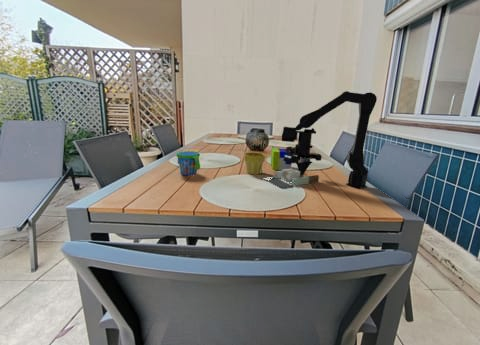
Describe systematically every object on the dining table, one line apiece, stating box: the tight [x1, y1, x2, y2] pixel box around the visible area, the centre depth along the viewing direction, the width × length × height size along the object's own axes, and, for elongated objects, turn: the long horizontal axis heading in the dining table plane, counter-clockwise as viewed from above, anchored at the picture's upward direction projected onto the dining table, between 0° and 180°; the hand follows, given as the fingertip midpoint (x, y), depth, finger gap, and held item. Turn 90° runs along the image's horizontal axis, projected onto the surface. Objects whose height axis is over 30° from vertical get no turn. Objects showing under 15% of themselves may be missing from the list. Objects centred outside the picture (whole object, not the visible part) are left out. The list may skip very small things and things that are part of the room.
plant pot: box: [243, 151, 266, 175], centre depth 124 cm, size 10×10×10 cm
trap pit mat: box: [266, 176, 294, 189], centre depth 111 cm, size 16×6×1 cm, turn 28°
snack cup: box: [176, 150, 201, 176], centre depth 118 cm, size 16×10×10 cm
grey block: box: [280, 168, 301, 184], centre depth 114 cm, size 6×6×5 cm
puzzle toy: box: [270, 147, 292, 171], centre depth 137 cm, size 10×10×10 cm
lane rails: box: [274, 168, 320, 186], centre depth 116 cm, size 13×15×3 cm
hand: (301, 175), depth 117 cm, fingers closed
